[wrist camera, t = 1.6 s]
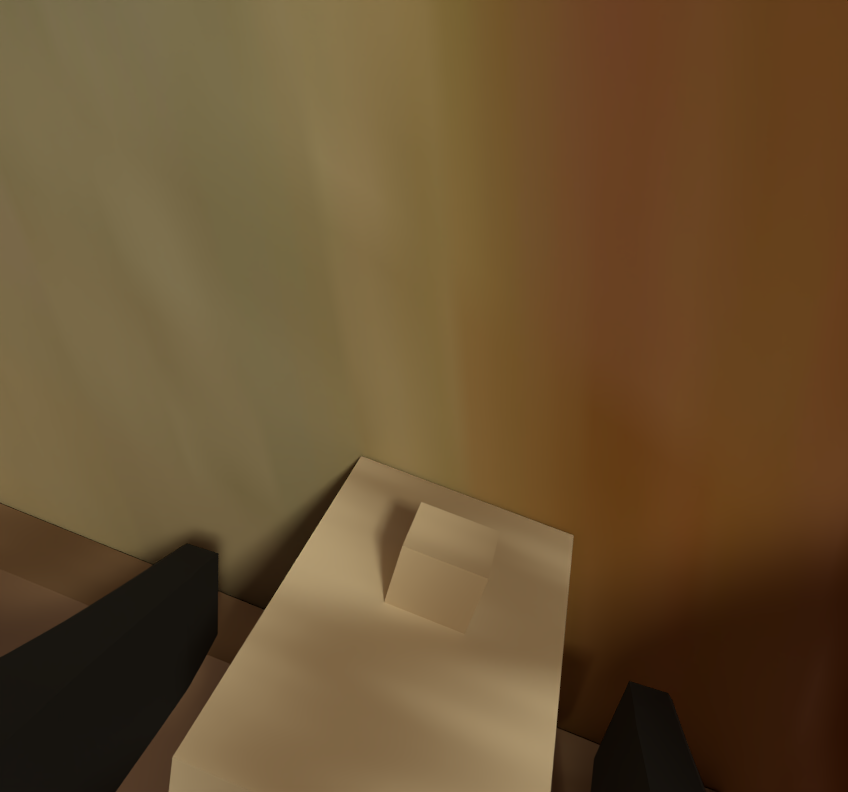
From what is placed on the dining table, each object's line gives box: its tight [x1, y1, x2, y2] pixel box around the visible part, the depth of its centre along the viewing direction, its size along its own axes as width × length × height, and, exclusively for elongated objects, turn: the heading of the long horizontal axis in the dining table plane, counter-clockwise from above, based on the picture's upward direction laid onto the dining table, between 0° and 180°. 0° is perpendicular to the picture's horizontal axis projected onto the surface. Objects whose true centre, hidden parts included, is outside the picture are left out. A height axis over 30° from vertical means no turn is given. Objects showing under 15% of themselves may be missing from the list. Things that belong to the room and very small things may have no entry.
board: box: [0, 504, 715, 792], centre depth 16 cm, size 18×8×2 cm, turn 75°
